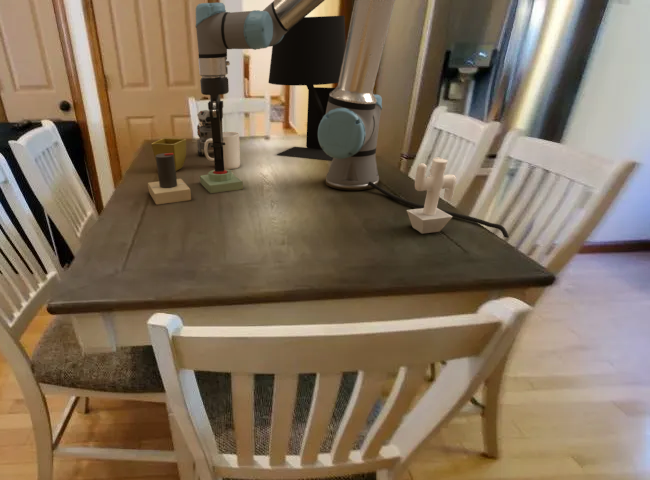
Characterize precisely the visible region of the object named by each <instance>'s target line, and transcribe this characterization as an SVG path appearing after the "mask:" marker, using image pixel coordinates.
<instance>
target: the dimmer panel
mask: <svg viewBox="0 0 650 480" xmlns="http://www.w3.org/2000/svg"><path fill="white" fill-rule="evenodd" d="M176 179H177V186H175V187H172V188H162V187H160V185H159V180H158V181H151V182H147V187H148V193H149V195H150V197H151V198H152V200H153V202H154V203H155V205H157V206H158V205H164V204H172V203H179V202H180V203H181V202H188V201H192V194H191V193H192V192H191V188H190V187H189V186H188V185H187V183H186V182H185V181H184V180H183V179H182V178H176Z"/></svg>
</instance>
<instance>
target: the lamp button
mask: <svg viewBox="0 0 650 480" xmlns="http://www.w3.org/2000/svg"><path fill="white" fill-rule="evenodd" d="M225 173H227V171H226V170H224V171H214V174H225Z"/></svg>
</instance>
